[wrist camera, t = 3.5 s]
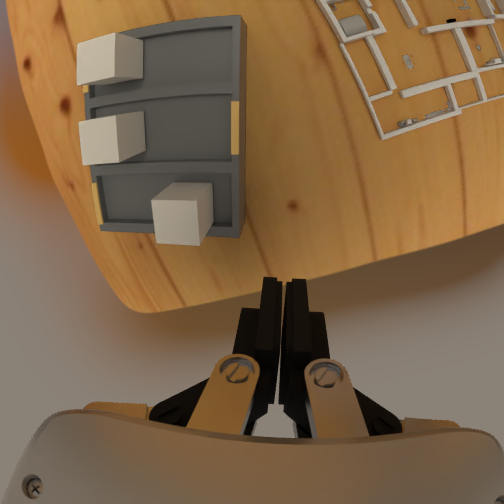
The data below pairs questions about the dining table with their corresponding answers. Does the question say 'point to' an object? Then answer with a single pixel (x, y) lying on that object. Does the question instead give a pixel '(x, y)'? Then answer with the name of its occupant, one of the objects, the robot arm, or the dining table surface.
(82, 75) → the white rectangular block
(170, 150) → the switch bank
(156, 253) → the dining table surface
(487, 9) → the floor plan model
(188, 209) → the tab
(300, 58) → the dining table surface
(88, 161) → the white block
